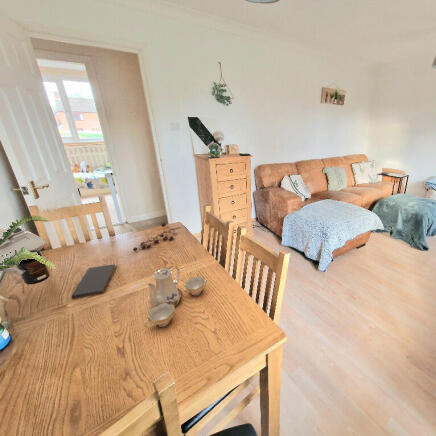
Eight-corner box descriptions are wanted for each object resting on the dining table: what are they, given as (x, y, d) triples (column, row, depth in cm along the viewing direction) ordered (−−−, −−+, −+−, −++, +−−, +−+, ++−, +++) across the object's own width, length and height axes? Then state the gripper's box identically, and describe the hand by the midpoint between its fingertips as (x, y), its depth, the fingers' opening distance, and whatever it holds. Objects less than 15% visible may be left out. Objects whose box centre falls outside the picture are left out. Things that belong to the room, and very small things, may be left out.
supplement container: (41, 272, 90) (30, 248, 86) (55, 275, 89) (45, 251, 85) (19, 283, 84) (6, 258, 80) (34, 286, 83) (22, 261, 79)
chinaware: (166, 341, 80) (163, 303, 73) (124, 326, 83) (118, 288, 76) (211, 289, 105) (212, 257, 99) (178, 279, 108) (176, 247, 101)
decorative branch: (131, 243, 123) (171, 213, 146) (129, 253, 128) (168, 222, 152) (150, 255, 124) (186, 223, 147) (147, 264, 129) (183, 232, 153)
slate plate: (72, 298, 94) (71, 295, 93) (90, 270, 111) (89, 267, 110) (103, 293, 97) (102, 290, 97) (115, 266, 114) (114, 264, 114)
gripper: (-42, 252, 70) (8, 279, 74) (25, 224, 89) (62, 247, 93) (-51, 265, 71) (-1, 291, 76) (17, 235, 90) (53, 257, 95)
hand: (34, 266), depth 85 cm, fingers closed on supplement container, 6 cm apart
